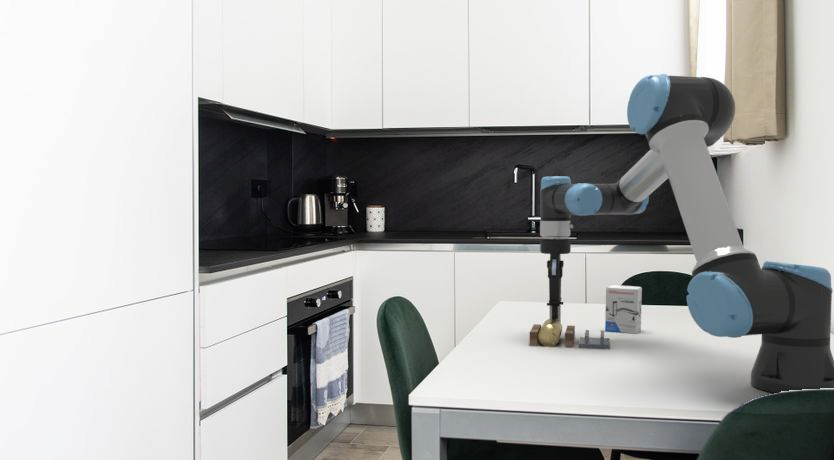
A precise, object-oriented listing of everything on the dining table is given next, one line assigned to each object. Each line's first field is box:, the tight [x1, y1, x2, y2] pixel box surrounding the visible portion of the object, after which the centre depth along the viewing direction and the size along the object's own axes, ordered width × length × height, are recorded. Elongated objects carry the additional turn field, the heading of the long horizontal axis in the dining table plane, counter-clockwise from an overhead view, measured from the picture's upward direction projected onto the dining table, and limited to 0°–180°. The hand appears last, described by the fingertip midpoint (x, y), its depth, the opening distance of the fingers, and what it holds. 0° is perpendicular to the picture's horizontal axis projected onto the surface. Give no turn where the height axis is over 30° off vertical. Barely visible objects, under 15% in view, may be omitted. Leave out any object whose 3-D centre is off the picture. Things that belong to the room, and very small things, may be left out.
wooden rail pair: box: [529, 324, 576, 348], centre depth 202 cm, size 12×10×3 cm
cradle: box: [578, 329, 611, 350], centre depth 198 cm, size 9×7×3 cm
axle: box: [538, 318, 563, 348], centre depth 202 cm, size 12×5×5 cm, turn 167°
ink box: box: [604, 284, 643, 335], centre depth 217 cm, size 9×5×12 cm, turn 62°
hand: (555, 330), depth 210 cm, fingers closed
